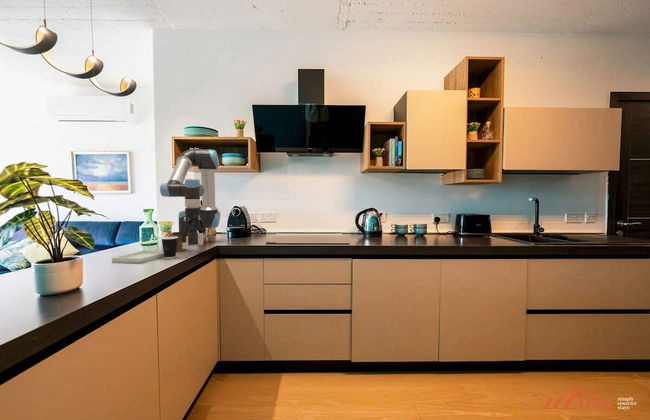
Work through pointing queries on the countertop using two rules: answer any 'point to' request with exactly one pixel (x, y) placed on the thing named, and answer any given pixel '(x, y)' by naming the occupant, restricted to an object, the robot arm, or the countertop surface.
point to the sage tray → (139, 257)
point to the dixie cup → (169, 247)
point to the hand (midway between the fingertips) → (193, 246)
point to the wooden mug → (179, 241)
